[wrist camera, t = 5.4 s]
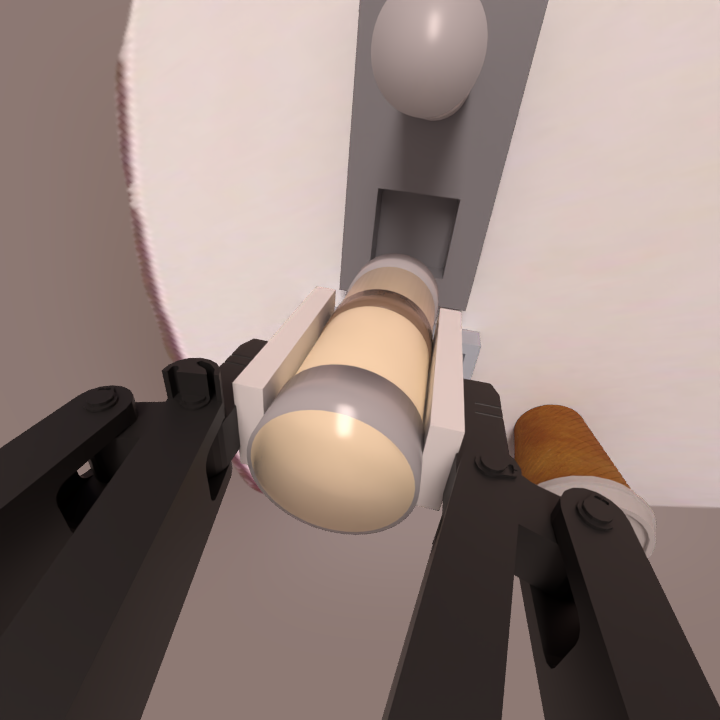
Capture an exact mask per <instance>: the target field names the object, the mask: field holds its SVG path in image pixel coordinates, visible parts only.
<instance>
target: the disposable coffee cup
mask: <svg viewBox="0 0 720 720" xmlns="http://www.w3.org/2000/svg"><path fill="white" fill-rule="evenodd" d="M514 437H515V461H516V462H517V464H518V465H519V467H520V468H521V472H522V475H523V476H524V477H525V478H527V479H528V480H529V481H531V482H532V483H534V484H536V485H538V486H540V487H542V488H544V489H546V490H548V491H550V492H552V493H555V494H557V495H559V496H562V494H563V492H564V491H565V490H568V489H570V488H586V489H589V490H592V491H595V492H598V493H599V494H601V495H603V496H605V497H606V498H608V499H610V500H611V501H612V502H613V503H614V504H616V505H617V506H618V507H619V508H620V509H621V510H622V511H623V512H624V514H625V515H626V517H627V518H628V520H629V521H630V523H631V525H632V527H633V529H634V531H635V533H636V535H637V538H638V540H639V542H640V544H641V546H642V548H643V550H644V552H645V554H646V556H647V558H649V557H650V556H651V554H652V553H653V551H654V548H655V545H656V539H655V531H656V519H655V515H654V513H653V511H652V509H651V508H650V506H649V505H648V504H647V503H646V502H645V501H644V499H643V498H641V497H640V496H638V495H637V494H636V493H635V492H634V491H633V490H631V488H630V487H629V485H628V484H626V481H625V480H624V478H622V475H621V474H620V472H618V469H617V468H616V467H615V466H614V464H613V462H612V461H611V460H610V458H609V456H608V455H607V453H606V452H605V451H604V450H603V448H602V446H601V445H600V443H599V442H598V441H597V439H596V438H595V436H594V435H593V433H592V432H591V430H590V429H589V428H588V426H587V425H586V423H585V422H584V420H583V419H582V417H581V416H580V415H579V414H578V413H577V412H576V411H574V410H573V409H570V408H568V407H565V406H560V405H544V406H539V407H536V408H533V409H531V410H529V411H527V412H526V413H524V414H523V415H522V416H521V417H520V418H519V419H518V421H517V423H516V425H515V429H514Z"/></svg>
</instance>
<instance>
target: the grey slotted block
mask: <svg viewBox="0 0 720 720" xmlns="http://www.w3.org/2000/svg"><path fill="white" fill-rule="evenodd" d="M547 4H548V0H360V5H359V19H358V34H357V48H356V62H355V76H354V91H353V105H352V119H351V133H350V147H349V162H348V176H347V190H346V204H345V218H344V233H343V247H342V261H341V275H340V289H339V290H345V291H348V289H349V287H350V285H351V283H352V282H353V280H354V279H355V277H356V276H357V274H358V273H359V271H360V270H361V269H362V267H363V266H364V265H365V264H366V263H368V262H369V261H370V260H372V259H374V258H376V257H378V256H381V255H384V254H390V253H398V254H405V255H408V256H411V257H414V258H415V259H417V260H419V261H420V262H422V263H423V264H424V265H425V266H426V267H427V268H428V269H429V270H430V271H431V273H432V274H433V276H434V278H435V280H436V282H437V286H438V291H439V300H438V306H439V307H445V308H451V309H457V310H462V311H466V307H467V303H468V299H469V296H470V292H471V288H472V284H473V281H474V277H475V273H476V269H477V266H478V262H479V258H480V255H481V251H482V247H483V243H484V240H485V236H486V232H487V228H488V225H489V221H490V217H491V213H492V210H493V206H494V202H495V198H496V195H497V191H498V187H499V183H500V180H501V176H502V172H503V168H504V165H505V161H506V157H507V153H508V150H509V146H510V142H511V139H512V135H513V131H514V127H515V124H516V120H517V116H518V112H519V109H520V105H521V101H522V97H523V94H524V90H525V86H526V82H527V79H528V75H529V71H530V67H531V64H532V60H533V56H534V52H535V49H536V45H537V41H538V37H539V34H540V30H541V26H542V23H543V19H544V15H545V11H546V8H547Z"/></svg>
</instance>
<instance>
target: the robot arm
mask: <svg viewBox="0 0 720 720" xmlns="http://www.w3.org/2000/svg"><path fill="white" fill-rule="evenodd" d="M335 293H336V290H335V289H329V288H323V287H317V286H316V287H315V289H314V290H313V291H312V292H311V293H310V294H309V296H308V297H307V298H306V299H305V300H304V301H303V302H302V304H301V305H300V306H299V307H298V308H297V309H296V310H295V312H294V313H293V314H292V315H291V316H290V317H289V318H288V320H287V321H286V322H285V323H284V324H283V325H282V327H281V328H280V329H279V330H278V331H277V332H276V333H275V335H274V336H273V337H272V338H271V339H270V340H269V341H264V340H259V339H252V340H250V341H248V342H246V343H244V344H242V345H240V346H239V347H238V348H237V349H236V350H235V351H234V352H233V353H232V356H231V355H230V356H229V357H228V358H227V360H226V361H225V363H223V364H222V365H221V366H220V367H219V366H218V364H217V363H215V362H213V361H211V360H208V359H203V358H188V359H183V360H179V361H176V362H174V363H172V364H170V365H168V366H167V367H165V368H164V369H163V370H162V373H163V378H164V383H165V387H166V392H167V396H168V399H167V401H166V402H135V400H134V396H133V394H132V392H131V391H130V390H129V389H127V388H125V387H122V386H103V387H98V388H95V389H91V390H88V391H86V392H84V393H82V394H81V395H79V396H77V397H76V398H74V399H73V400H71V401H70V402H68V403H67V404H65V405H64V406H62V407H61V408H59V409H58V410H56V411H55V412H53V413H52V414H50V415H49V416H47V417H46V418H44V419H43V420H41V421H40V422H38V423H37V424H35V425H34V426H32V427H31V428H30V429H28V430H27V431H25V432H24V433H22V434H21V435H19V436H18V437H16V438H15V439H13V440H12V441H10V442H9V443H7V444H6V445H4V446H3V447H2V448H0V720H140V719H141V717H142V714H143V711H144V708H145V706H146V703H147V701H148V698H149V695H150V692H151V690H152V687H153V684H154V682H155V679H156V676H157V674H158V671H159V668H160V666H161V663H162V660H163V658H164V655H165V652H166V650H167V647H168V644H169V641H170V639H171V636H172V633H173V631H174V628H175V625H176V622H177V620H178V617H179V615H180V612H181V609H182V607H183V604H184V601H185V598H186V596H187V593H188V590H189V588H190V585H191V582H192V580H193V577H194V574H195V572H196V569H197V566H198V564H199V561H200V558H201V555H202V553H203V550H204V548H205V545H206V542H207V540H208V536H209V534H210V531H211V529H212V526H213V523H214V521H215V518H216V515H217V513H218V510H219V507H220V505H221V502H222V499H223V496H224V494H225V491H226V488H227V486H228V483H229V480H230V478H231V473H232V462H231V460H232V459H233V457H234V456H235V454H236V453H237V451H238V450H239V452H240V462H241V463H242V464H246V465H248V462H247V445H248V441H249V438H250V436H251V434H252V432H253V431H254V429H255V428H256V426H257V425H258V423H259V422H260V420H261V419H262V417H263V416H264V414H265V413H266V411H267V410H268V408H269V407H270V405H271V404H272V402H273V401H274V399H275V398H276V396H277V395H278V393H279V392H280V390H281V388H282V387H283V386H284V385H285V383H286V382H287V381H288V380H289V379H291V378H292V377H293V376H295V374H296V373H297V371H298V370H299V368H300V366H301V365H302V363H303V362H304V360H305V359H306V357H307V356H308V354H309V353H310V351H311V350H312V348H313V346H314V345H315V343H316V342H317V340H318V339H319V337H320V334H321V332H322V330H323V328H324V327H325V325H326V324H327V322H328V321H329V319H330V318H331V316H332V314H333V313H334V309H335ZM502 418H503V415H502V409H501V402H500V396H499V394H498V393H497V392H496V390H495V389H494V388H493V386H492V385H491V384H489V383H484V382H479V381H474V380H469V379H464V378H463V355H462V322H461V311H455V310H450V309H444V308H440V311H439V316H438V320H437V324H436V329H435V333H434V338H433V346H432V356H431V365H430V370H429V373H428V378H427V387H426V396H425V405H424V414H423V425H424V431H425V436H424V446H423V462H422V472H421V482H420V492H419V498H418V501H417V503H416V506H421V507H425V508H429V509H433V510H437V511H439V510H440V507H441V504H442V501H443V510H442V511H443V512H442V517H441V520H440V523H439V526H438V529H437V532H436V535H435V537H434V540H433V543H432V544H433V546H432V550H431V553H430V556H429V560H428V563H427V567H426V570H425V573H424V577H423V580H422V584H421V587H420V591H419V594H418V598H417V601H416V604H415V608H414V611H413V615H412V618H411V622H410V625H409V628H408V632H407V635H406V639H405V642H404V646H403V649H402V652H401V656H400V659H399V663H398V666H397V670H396V673H395V676H394V680H393V683H392V686H391V690H390V693H389V697H388V701H387V704H386V707H385V710H384V714H383V717H382V720H501V718H502V708H503V696H504V684H505V672H506V661H507V650H508V638H509V627H510V615H511V604H512V592H513V580H514V575H515V576H517V577H519V579H520V584H521V590H522V595H523V601H524V606H525V612H526V618H527V623H528V629H529V634H530V640H531V645H532V651H533V656H534V662H535V667H536V673H537V678H538V684H539V689H540V695H541V701H542V706H543V711H544V717H545V720H720V707H719V704H718V703H717V701H716V698H715V696H714V694H713V692H712V690H711V688H710V686H709V684H708V682H707V680H706V678H705V676H704V674H703V671H702V670H701V667H700V665H699V663H698V661H697V659H696V657H695V655H694V653H693V651H692V649H691V647H690V645H689V643H688V641H687V639H686V636H685V635H684V632H683V630H682V628H681V626H680V624H679V622H678V620H677V618H676V616H675V614H674V612H673V610H672V608H671V606H670V603H669V601H668V599H667V597H666V595H665V593H664V591H663V589H662V587H661V585H660V583H659V581H658V579H657V577H656V575H655V573H654V571H653V568H652V566H651V564H650V562H649V560H648V558H647V556H646V554H645V552H644V550H643V548H642V546H641V544H640V542H639V540H638V538H637V535H636V533H635V531H634V529H633V527H632V525H631V523H630V521H629V520H628V518H627V517H626V515H625V514H624V512H623V511H622V510H621V509H620V508H619V507H618V506H617V505H616V504H614V503H613V502H612V501H611V500H610V499H608V498H606V497H605V496H603V495H601V494H599V493H598V492H595V491H592V490H589V489H586V488H570V489H568V490H565V491H564V492H563V494H562V496H559V495H557V494H555V493H552V492H550V491H548V490H546V489H544V488H542V487H540V486H538V485H536V484H534V483H532V482H531V481H529V480H528V479H527V478H525V477H524V476H523V475H522V472H521V468H520V467H519V465H518V464H517V462H516V461H515V459H513V458H512V457H511V456H510V455H509V451H508V445H507V439H506V433H505V427H504V421H503V419H502ZM87 461H88V462H89V464H90V467H91V469H90V470H88V471H87V472H86V473H84V474H82V475H81V476H79V475H78V472H77V470H78V469H79V468H80V467H81V466H83V465H84V464H85V463H86V462H87Z"/></svg>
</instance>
